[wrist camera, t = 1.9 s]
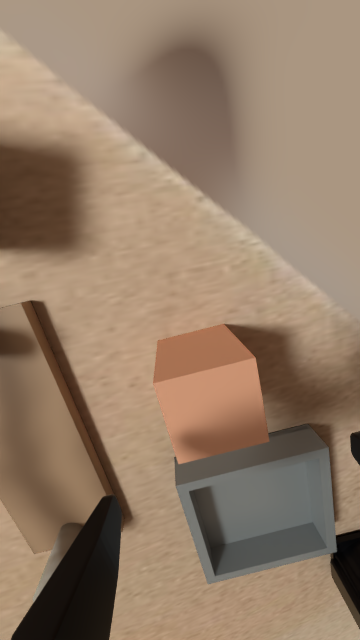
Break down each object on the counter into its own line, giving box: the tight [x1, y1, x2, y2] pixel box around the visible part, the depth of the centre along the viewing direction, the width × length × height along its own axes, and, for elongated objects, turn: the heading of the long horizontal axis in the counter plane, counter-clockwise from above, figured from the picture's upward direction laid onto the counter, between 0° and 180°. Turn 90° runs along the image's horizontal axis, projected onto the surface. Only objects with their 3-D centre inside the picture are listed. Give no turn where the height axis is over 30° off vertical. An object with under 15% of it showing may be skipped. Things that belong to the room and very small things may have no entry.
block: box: [153, 324, 270, 464], centre depth 14 cm, size 5×5×6 cm
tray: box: [174, 424, 337, 584], centre depth 19 cm, size 12×12×2 cm
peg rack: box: [0, 301, 124, 603], centre depth 15 cm, size 8×21×5 cm, turn 14°
